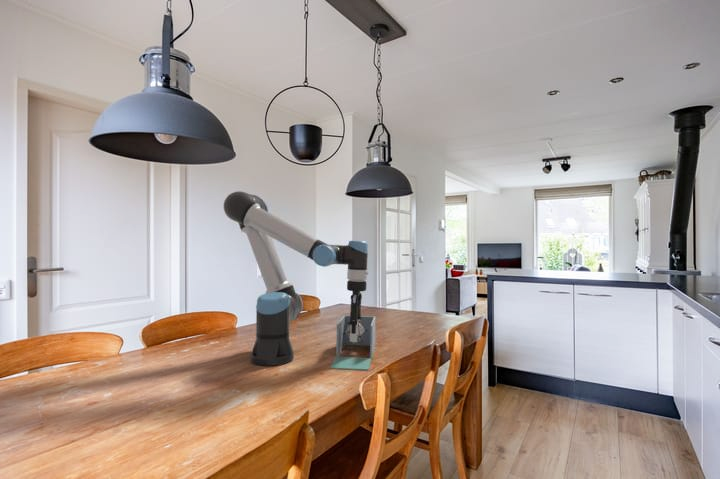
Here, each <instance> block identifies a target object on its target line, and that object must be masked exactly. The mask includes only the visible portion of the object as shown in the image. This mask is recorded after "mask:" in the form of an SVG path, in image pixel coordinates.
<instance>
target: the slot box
mask: <svg viewBox="0 0 720 479" xmlns="http://www.w3.org/2000/svg"><path fill="white" fill-rule="evenodd" d="M361 317H362V319H359V320H360V324H361V325H362V326H363V328H364V329H365V330H368V331H365V334H364V336H363V338H362V341H363V343H362V342H361V341H357V342H352V343H350V340H349V338H348V337H347V336H346V335H345V334H343V333H345V332H346V329H347V327H348V325H349V324H348V322H349V323H350V315H345V314H344V315H343V316H342V317H341V318H340V320H339V321H338V322H337V323H336V344H335V345H336V347H335V348H336V352H335V353H336V354H335V355H336V356H335V358H336V357H340V354H341V352H342V350H343V349H344V347H345V346H346V345H349V346H351V345H352V346H367V347H368V346H369V347H370V349H369V350H370V351H369V354H370V356H369V358H371V359H373V355H374V352H375V348H376V316H373V315H372V316H371V315H365V316H364V315H361ZM352 321H353V320H352Z"/></svg>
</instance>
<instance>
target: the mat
mask: <svg viewBox="0 0 720 479" xmlns="http://www.w3.org/2000/svg"><path fill="white" fill-rule="evenodd" d="M371 361H372V358H370V357H368V358H367V357H349V356H348V357H347V356H338V357H336V356H335V358H334V360H333V362H332V364H331V365H330V367H329V369H330V370H331V369H332V370H333V369H334V370H351V371H370V366H371V364H372V362H371Z"/></svg>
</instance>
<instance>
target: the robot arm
mask: <svg viewBox="0 0 720 479" xmlns="http://www.w3.org/2000/svg"><path fill="white" fill-rule="evenodd" d="M223 211H224V214H225V216H226V217H228V218H229V219H230V220H232V221H233V222H236V223H238V225H239V229H240V231H241V232H242V233H245V234H246V236H247V239H248V241H249V244H250V247H251V249H252V253H253V255H254V258H255V261H256V263H257V265H258V266H257V267H258V268H259V272H260V274H261V278H262V280H263V283H264V286H265V288H266V291H265V293H263V294H261V295H259V296H258V297H257V299H256V305H255V309H256V311H255V312H256V318H255V319H256V321H255V322H256V323H255V324H256V325H255V326H256V328H255V331H256V332H255V333H256V334H255V335H256V336H255V340H254V343H253V347H252V350H251V353H250V362H251V363H252V364H254V365H258V366H267V367H268V366H280V365H284V364H287V363H290V362H292V361H293V360H294V359H295V358H294V355H295V353H294V348H293V345H292V342H291V339H290V323H291V322H292V321H294V320H296V319H297V318H298V317H299V316H300V314H301V312H302V311H303V307H304V306H303V305H304V304H303V299H302V297H301V296H300V294H299V293H297V292H296V290H295V288H294V287H295V286H294V285H293V283H291V282H289V281H288V280H287V277H286V274H285V271H284V268H283V266H282V264H281V261H280V258H279V255H278V252H277V249H276V248H275V247H276V246H275V244H274V241H273V239H274V240H276V241H278V242H280V243H282V244H283V245H285V246H287V247H288V248H290V249H292V250H294V251H296V252H297V253H300V254H301V255H303V256H305V257H306V258H309V259H310V260H311V261H314V263H315V264H316V265H318V266H320V267H322V268H323V267H324V268H325V267H329V266H331V265H347V274H346V275H347V277H346V278H347V282H346V283H347V284H346V291H350V292H352V294H351V295H350V315H349V316H350V323H348V324H349V325H350V342H357V330H358V324H357V323H359V321H360V320H359V319H362V317H361V316H362V312H361V311H362V300H363V297H362V296H363V295H362V293H361V292H366V291H367V281H366V280H367V275H369V272H368V255H369V254H368V247H369V246H368V243H367V241H365V240H349V241H348V244H346V245H341V244H340V245H339V244H328V243H326V242H324V241H322V240H320V239H318V238H316V237H314V236H313V235H311V234H309V233H308V232H305V231H303V229H300V228H298V227H296V226H295V225H293V224H291V223H289V222H288V221H286V220H283V219H281V218H280V217H278V216H276V215H274V214H272V213H270V212H269V208H268V205H267V203H266V202H265V201H264V200H263V198H261V197H260V196H258V195H257V194H252V193H248V192H245V191H241V190H239V191H233V192H231V193H229V194H228V195H227V196H226V197H225V200H224V202H223ZM352 320H353V321H352Z"/></svg>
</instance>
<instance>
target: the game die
mask: <svg viewBox="0 0 720 479" xmlns="http://www.w3.org/2000/svg"><path fill="white" fill-rule="evenodd" d="M348 323H349V322H348ZM357 324H358V330H357V341H361V342H362V343H363V341H362V338H363V336H364V334H365V331H368V330H365V329H364V328H363V326H362V325H361V324H360V321H359V323H357ZM343 334H345V335H346V336H347V337H348V338H349V340H350V325H348V327H347V329H346V332H345V333H343ZM350 343H352V342H350Z"/></svg>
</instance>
